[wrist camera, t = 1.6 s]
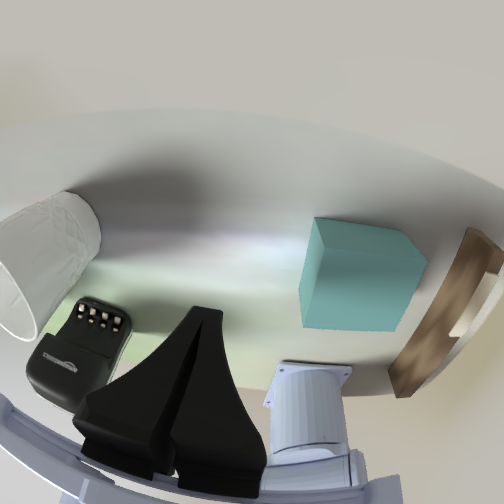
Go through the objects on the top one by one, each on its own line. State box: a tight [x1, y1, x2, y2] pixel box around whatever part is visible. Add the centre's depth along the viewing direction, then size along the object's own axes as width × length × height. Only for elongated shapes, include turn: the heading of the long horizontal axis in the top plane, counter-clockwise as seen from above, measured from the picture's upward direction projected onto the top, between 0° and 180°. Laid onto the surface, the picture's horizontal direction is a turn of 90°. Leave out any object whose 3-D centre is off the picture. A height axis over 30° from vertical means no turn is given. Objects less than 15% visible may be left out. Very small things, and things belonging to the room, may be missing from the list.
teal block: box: [299, 217, 428, 332], centre depth 18 cm, size 6×7×4 cm
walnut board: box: [388, 227, 504, 398], centre depth 20 cm, size 18×2×4 cm, turn 172°
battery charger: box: [26, 298, 133, 416], centre depth 19 cm, size 7×4×11 cm, turn 77°
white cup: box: [0, 191, 102, 342], centre depth 15 cm, size 8×8×10 cm
